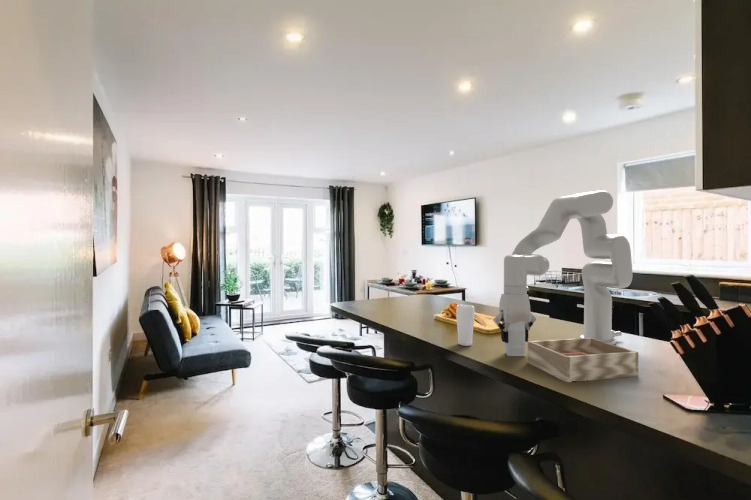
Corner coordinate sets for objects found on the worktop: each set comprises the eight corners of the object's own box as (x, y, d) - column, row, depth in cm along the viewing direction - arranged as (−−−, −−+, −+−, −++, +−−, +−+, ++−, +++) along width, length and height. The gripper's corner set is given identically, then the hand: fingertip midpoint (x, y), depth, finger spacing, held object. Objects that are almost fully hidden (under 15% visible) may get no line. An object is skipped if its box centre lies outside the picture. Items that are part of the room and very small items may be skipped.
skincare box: (521, 353, 134) (522, 319, 134) (525, 356, 130) (525, 321, 130) (504, 352, 134) (504, 319, 134) (507, 356, 130) (507, 321, 130)
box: (590, 358, 128) (591, 337, 128) (638, 376, 110) (638, 352, 110) (527, 362, 123) (527, 341, 123) (566, 382, 105) (566, 357, 105)
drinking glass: (462, 341, 150) (462, 303, 150) (477, 344, 145) (477, 305, 145) (452, 344, 145) (452, 305, 145) (468, 347, 141) (468, 307, 140)
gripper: (530, 288, 137) (530, 337, 138) (486, 289, 134) (486, 340, 134) (544, 291, 130) (543, 342, 130) (498, 292, 126) (497, 345, 127)
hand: (514, 341), depth 132 cm, fingers closed on skincare box, 6 cm apart
